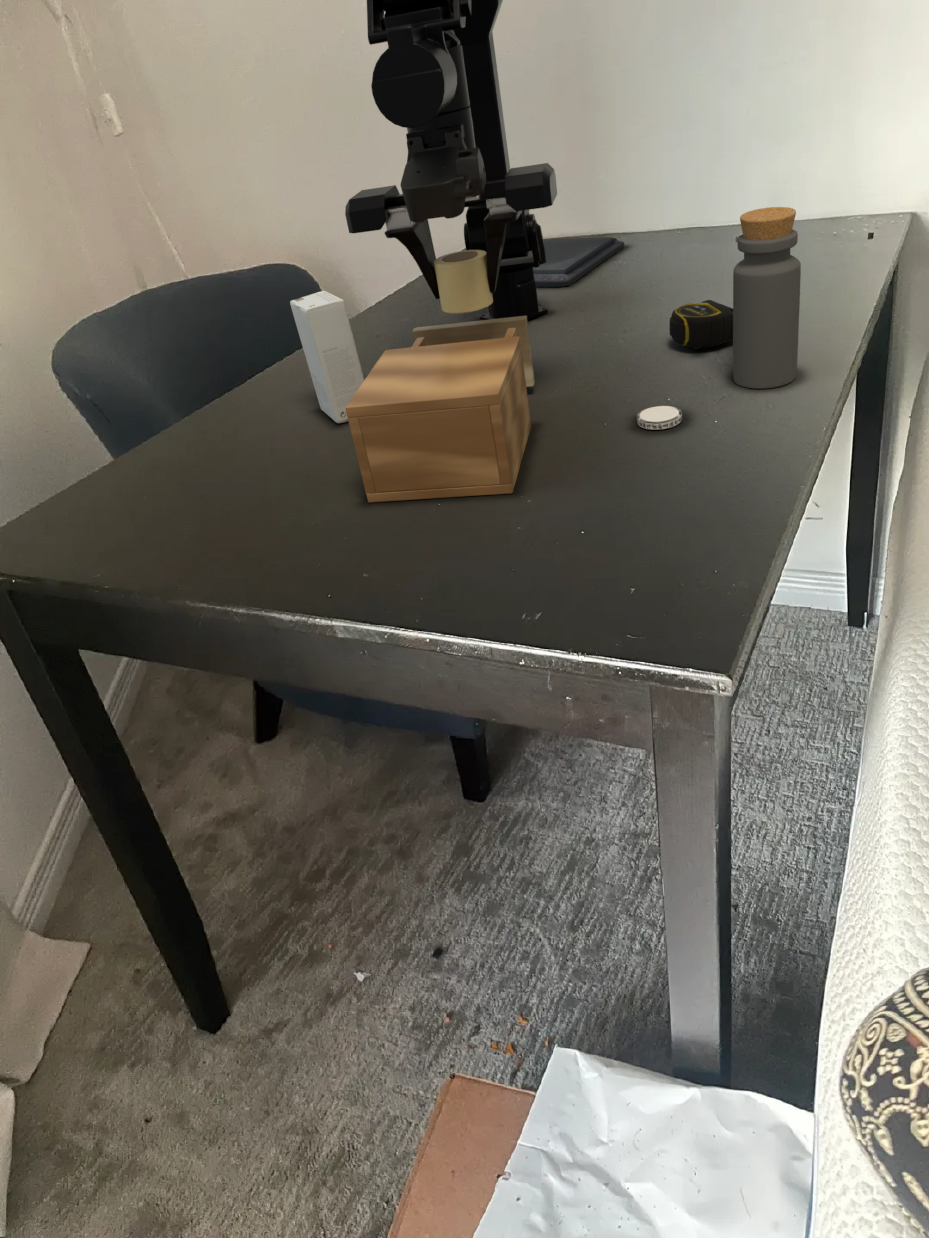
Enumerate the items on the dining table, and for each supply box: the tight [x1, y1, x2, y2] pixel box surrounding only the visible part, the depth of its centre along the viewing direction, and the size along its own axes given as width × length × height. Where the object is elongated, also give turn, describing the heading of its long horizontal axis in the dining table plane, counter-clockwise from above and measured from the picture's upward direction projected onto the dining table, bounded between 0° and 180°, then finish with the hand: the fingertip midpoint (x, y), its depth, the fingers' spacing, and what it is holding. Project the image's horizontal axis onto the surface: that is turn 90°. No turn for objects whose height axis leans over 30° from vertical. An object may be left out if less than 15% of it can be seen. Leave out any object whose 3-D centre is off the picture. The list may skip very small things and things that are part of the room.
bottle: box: [732, 206, 802, 390], centre depth 86 cm, size 6×6×15 cm
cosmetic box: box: [289, 290, 365, 424], centre depth 98 cm, size 6×4×12 cm
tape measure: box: [668, 299, 733, 350], centre depth 100 cm, size 7×7×4 cm
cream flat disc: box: [636, 405, 683, 431], centre depth 86 cm, size 4×4×1 cm
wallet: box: [528, 236, 625, 288], centre depth 137 cm, size 20×2×15 cm
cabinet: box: [345, 336, 532, 504], centre depth 83 cm, size 14×13×9 cm
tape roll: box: [434, 249, 493, 314], centre depth 89 cm, size 5×5×5 cm
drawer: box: [411, 316, 536, 388], centre depth 93 cm, size 16×12×7 cm
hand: (465, 295), depth 90 cm, fingers closed on tape roll, 5 cm apart
